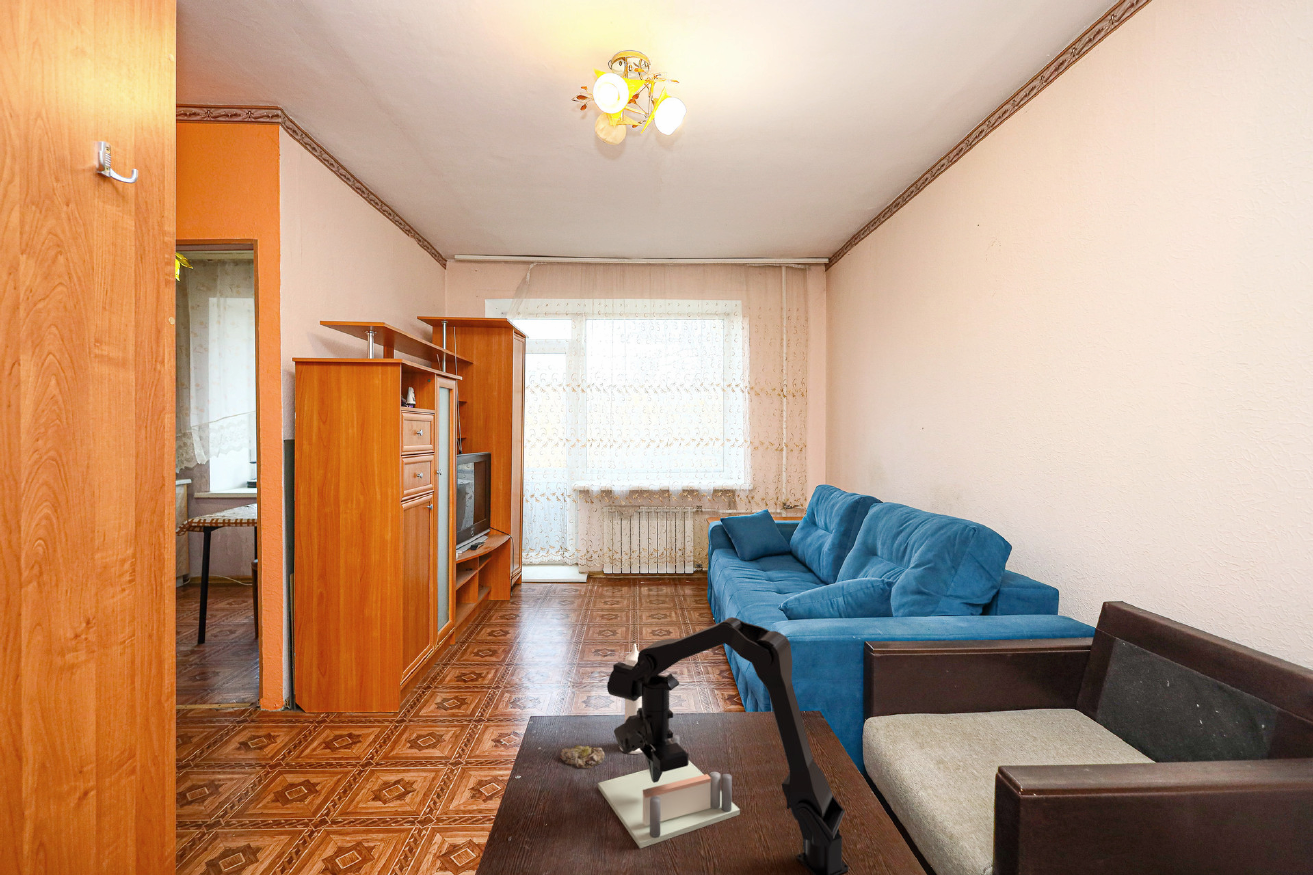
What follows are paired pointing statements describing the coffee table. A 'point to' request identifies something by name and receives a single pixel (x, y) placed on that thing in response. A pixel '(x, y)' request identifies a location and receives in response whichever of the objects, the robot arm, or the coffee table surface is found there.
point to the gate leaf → (684, 796)
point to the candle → (630, 706)
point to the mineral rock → (583, 756)
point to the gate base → (633, 805)
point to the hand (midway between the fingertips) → (655, 781)
